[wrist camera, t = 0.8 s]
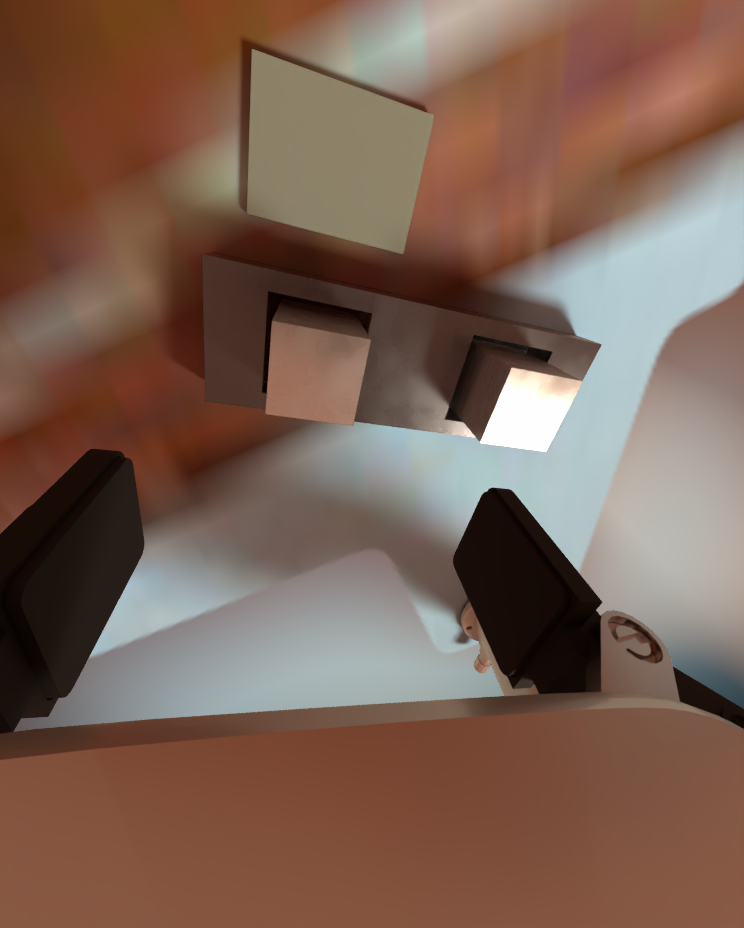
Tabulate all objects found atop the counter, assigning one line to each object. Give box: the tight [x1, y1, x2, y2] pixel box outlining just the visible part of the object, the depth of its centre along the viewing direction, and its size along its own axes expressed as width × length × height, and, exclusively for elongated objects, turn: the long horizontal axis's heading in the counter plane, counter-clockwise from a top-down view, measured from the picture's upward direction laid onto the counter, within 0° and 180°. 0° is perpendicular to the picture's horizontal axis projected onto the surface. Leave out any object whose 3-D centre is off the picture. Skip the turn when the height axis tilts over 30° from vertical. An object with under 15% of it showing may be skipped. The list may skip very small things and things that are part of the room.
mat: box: [247, 49, 435, 254], centre depth 21 cm, size 7×10×1 cm
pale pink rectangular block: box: [266, 299, 371, 426], centre depth 23 cm, size 5×5×8 cm
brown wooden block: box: [449, 339, 583, 451], centre depth 27 cm, size 5×5×8 cm
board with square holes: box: [202, 252, 601, 438], centre depth 27 cm, size 9×28×3 cm, turn 77°
